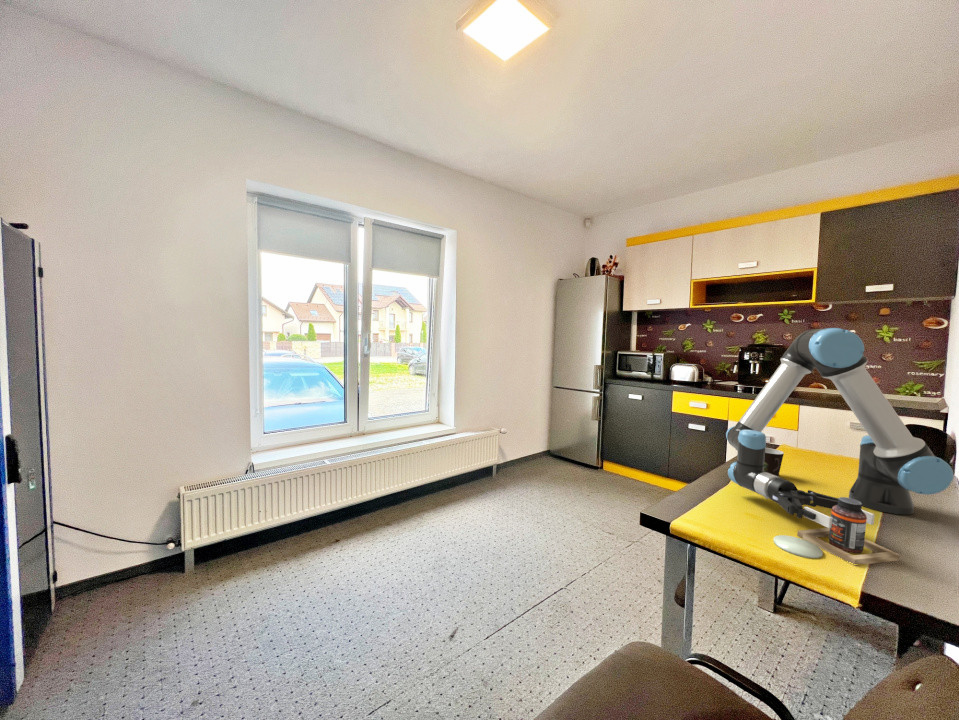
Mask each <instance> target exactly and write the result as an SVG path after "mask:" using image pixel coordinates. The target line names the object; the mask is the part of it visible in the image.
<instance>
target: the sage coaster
mask: <svg viewBox="0 0 959 720" xmlns="http://www.w3.org/2000/svg"><path fill="white" fill-rule="evenodd" d="M773 543H774V545H775V546H776V547H778V548H779V549H781V550H782V551H784V552H787V553H789V554H791V555H794V556H798V557H801V558H807V559H820V558H822V557H823V555H824V554H823V553H824V552H823V549H822V548H820V547H818V546H816V545H815V544H813V543H811V542H808V541H806V540H804V539H802V538H801V537H798V536H797V537H796V536H792V535H784V534H783V535H782V534H781V535H776V536H774V537H773Z"/></svg>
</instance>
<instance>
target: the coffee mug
mask: <svg viewBox="0 0 959 720" xmlns="http://www.w3.org/2000/svg"><path fill="white" fill-rule="evenodd" d="M783 458H784V451H782V450H779V449H776V448H775V449H774V448H769V447H766V448H765V459H764V462H765V463H767V464H768V468H767V471H765V472H767V473H770V474H772V475H775V476H778V477H780V472H781V467H782V463H783Z"/></svg>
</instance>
